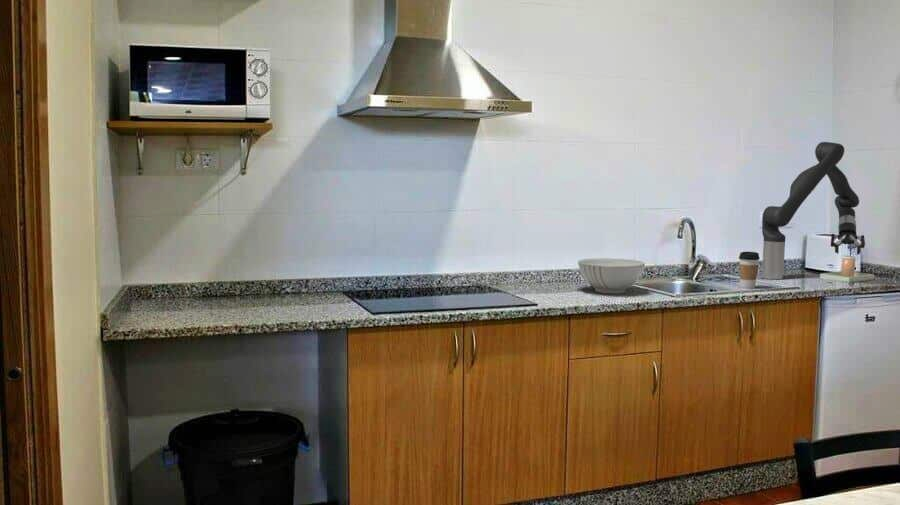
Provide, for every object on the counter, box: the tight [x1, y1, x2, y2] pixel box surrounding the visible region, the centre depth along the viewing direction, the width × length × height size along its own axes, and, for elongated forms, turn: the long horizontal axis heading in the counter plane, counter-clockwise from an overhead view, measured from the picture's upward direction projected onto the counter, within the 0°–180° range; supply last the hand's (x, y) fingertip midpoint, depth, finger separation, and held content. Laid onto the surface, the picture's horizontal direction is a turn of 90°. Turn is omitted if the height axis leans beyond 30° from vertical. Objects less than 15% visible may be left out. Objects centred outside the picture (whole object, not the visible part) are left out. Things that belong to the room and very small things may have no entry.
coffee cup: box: [738, 251, 760, 289], centre depth 331 cm, size 8×8×15 cm
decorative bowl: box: [577, 257, 646, 294], centre depth 318 cm, size 27×27×12 cm
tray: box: [819, 270, 875, 284], centre depth 358 cm, size 20×14×2 cm
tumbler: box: [840, 255, 857, 277], centre depth 358 cm, size 6×6×10 cm
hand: (847, 253), depth 361 cm, fingers open, 8 cm apart
